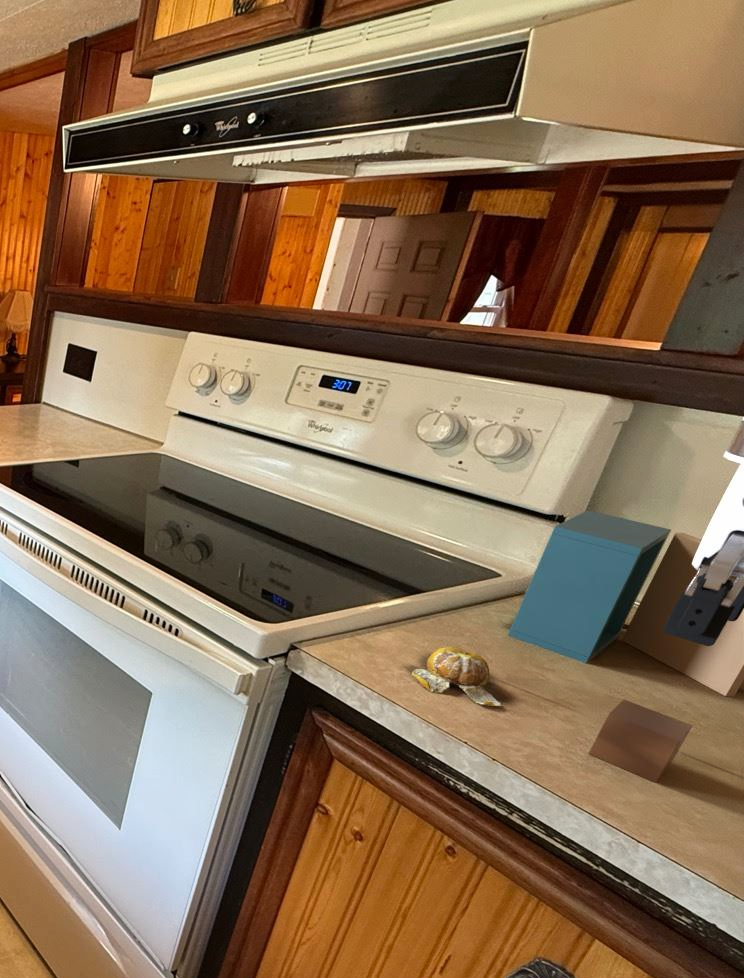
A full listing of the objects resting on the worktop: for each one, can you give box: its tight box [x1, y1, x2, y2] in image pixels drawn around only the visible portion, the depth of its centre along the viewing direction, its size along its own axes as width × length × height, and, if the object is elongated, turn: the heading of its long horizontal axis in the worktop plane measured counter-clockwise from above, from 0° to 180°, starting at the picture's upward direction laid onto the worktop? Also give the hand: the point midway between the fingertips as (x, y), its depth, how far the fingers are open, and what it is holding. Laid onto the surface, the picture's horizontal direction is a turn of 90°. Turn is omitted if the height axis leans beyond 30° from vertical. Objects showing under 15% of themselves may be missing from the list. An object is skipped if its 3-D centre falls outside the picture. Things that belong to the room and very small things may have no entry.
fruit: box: [411, 646, 503, 707], centre depth 86 cm, size 8×8×4 cm
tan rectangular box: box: [621, 532, 744, 698], centre depth 88 cm, size 8×13×16 cm, turn 177°
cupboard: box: [507, 509, 672, 664], centre depth 95 cm, size 8×13×16 cm, turn 122°
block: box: [588, 699, 693, 784], centre depth 73 cm, size 5×5×5 cm
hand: (699, 626), depth 68 cm, fingers open, 9 cm apart
